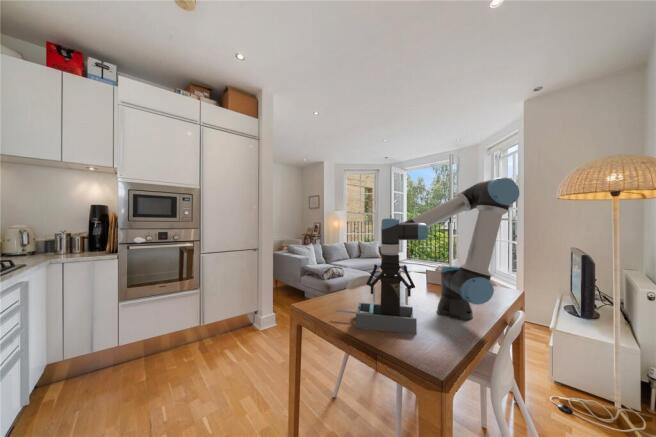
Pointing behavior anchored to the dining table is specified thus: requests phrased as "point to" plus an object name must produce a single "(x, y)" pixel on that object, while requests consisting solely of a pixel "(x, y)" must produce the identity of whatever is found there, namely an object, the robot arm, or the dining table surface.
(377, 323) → the grey shallow rectangular box
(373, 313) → the pusher
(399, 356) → the dining table surface
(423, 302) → the dining table surface
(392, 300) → the container
